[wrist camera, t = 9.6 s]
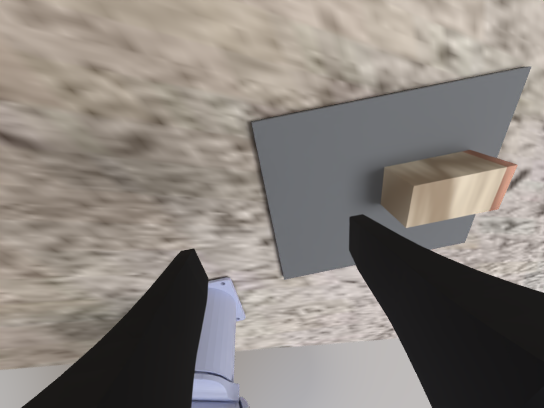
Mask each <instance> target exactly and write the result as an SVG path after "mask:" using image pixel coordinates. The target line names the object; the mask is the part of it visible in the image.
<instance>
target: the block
mask: <svg viewBox="0 0 544 408" xmlns="http://www.w3.org/2000/svg"><path fill="white" fill-rule="evenodd" d="M516 168H517V165H516V164H513V163H510V162H507V161H504V160H501V159H497V158H494V157H491V156H488V155H485V154H482V153H479V152H475V151H472V150H467V151H462V152H457V153H452V154H447V155H442V156H437V157H432V158H427V159H422V160H418V161H413V162H408V163H403V164H398V165H393V166H388V167H384V176H383V186H382V196H381V205H382V206H383V207H384V208H385V209H386V210H387V211H388V212H389V213H390V214H392V215H393V216H394V217H395V218H396V219H397V220H398V221H399V222H400V223H401V224H402V225H403V226H404V227H405V228H409V227H414V226H418V225H423V224H428V223H433V222H438V221H443V220H448V219H453V218H458V217H462V216H467V215H472V214H477V213H482V212H487V211H492V210H497V209H499V206H500V204H501V202H502V200H503V197H504V195H505V193H506V190H507V188H508V186H509V184H510V181H511V179H512V177H513V174H514V172H515V170H516Z"/></svg>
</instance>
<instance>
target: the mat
mask: <svg viewBox="0 0 544 408" xmlns="http://www.w3.org/2000/svg"><path fill="white" fill-rule="evenodd" d="M530 69H531V67H521V68H516V69H511V70H506V71H501V72H496V73H491V74H486V75H481V76H476V77H471V78H466V79H461V80H456V81H451V82H446V83H441V84H436V85H431V86H426V87H421V88H416V89H411V90H406V91H401V92H396V93H391V94H386V95H381V96H376V97H371V98H366V99H361V100H356V101H351V102H346V103H341V104H336V105H331V106H326V107H321V108H316V109H311V110H306V111H301V112H296V113H291V114H286V115H281V116H276V117H271V118H266V119H261V120H256V121H251V123H252V128H253V132H254V137H255V142H256V147H257V151H258V156H259V161H260V166H261V171H262V175H263V180H264V185H265V190H266V195H267V199H268V204H269V209H270V214H271V219H272V223H273V228H274V233H275V238H276V242H277V247H278V252H279V257H280V262H281V266H282V271H283V276H284V280H285V279H289V278H294V277H299V276H304V275H309V274H314V273H319V272H324V271H328V270H333V269H338V268H343V267H348V266H353V265H356V264H355V262H354V260H353V258H352V256H351V254H350V251H349V217H351V216H356V215H361V214H363V215H365V216H367V217H369V218H371V219H373V220H374V221H376V222H378V223H380V224H381V225H383V226H385V227H387V228H388V229H390V230H392V231H394V232H396V233H397V234H399V235H401V236H403V237H405V238H407V239H409V240H411V241H413V242H415V243H416V244H418V245H420V246H423V247H425V248H427V249H429V250H431V249H435V248H440V247H445V246H450V245H455V244H460V243H465V241H466V238H467V235H468V233H469V230H470V227H471V225H472V222H473V220H474V217H475V214H472V215H467V216H462V217H458V218H453V219H448V220H443V221H438V222H433V223H428V224H423V225H418V226H414V227H409V228H405V227H404V226H403V225H402V224H401V223H400V222H399V221H398V220H397V219H396V218H395V217H394V216H393V215H392V214H390V213H389V212H388V211H387V210H386V209H385V208H384V207H383V206H382V205H381V196H382V186H383V176H384V167H388V166H393V165H398V164H403V163H408V162H413V161H418V160H422V159H427V158H432V157H437V156H442V155H447V154H452V153H457V152H462V151H467V150H472V151H475V152H479V153H482V154H485V155H488V156H491V157H494V158H497V156H498V154H499V151H500V148H501V146H502V143H503V140H504V138H505V135H506V132H507V130H508V127H509V124H510V122H511V119H512V117H513V114H514V111H515V109H516V106H517V103H518V101H519V98H520V95H521V93H522V90H523V87H524V85H525V82H526V80H527V77H528V74H529V72H530Z"/></svg>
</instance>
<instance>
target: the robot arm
mask: <svg viewBox="0 0 544 408" xmlns="http://www.w3.org/2000/svg"><path fill="white" fill-rule="evenodd" d="M349 251H350V254H351V256H352V258H353V260H354V262H355V264H356V267H357V269H358V270H359V272H360V274H361V275H362V277H363V279H364V280H365V282H366V283H367V285H368V287H369V288H370V290H371V291H372V293H373V295H374V296H375V298H376V299H377V301H378V302H379V304H380V306H381V307H382V309H383V310H384V312H385V314H386V315H387V317H388V319H389V320H390V322H391V324H392V326H393V328H394V330H395V332H396V333H397V335H398V337H399V339H400V341H401V343H402V345H403V347H404V349H405V351H406V353H407V355H408V357H409V359H410V362H411V363H412V365H413V368H414V370H415V372H416V374H417V376H418V378H419V380H420V382H421V384H422V387H423V389H424V391H425V393H426V395H427V397H428V400H429V402H430V404H431V406H432V408H544V293H543V292H539V291H536V290H533V289H530V288H527V287H524V286H521V285H517V284H514V283H511V282H509V281H506V280H503V279H500V278H497V277H494V276H492V275H489V274H486V273H483V272H481V271H478V270H475V269H473V268H470V267H468V266H465V265H463V264H460V263H458V262H456V261H453V260H451V259H448V258H446V257H444V256H442V255H439V254H437V253H435V252H433V251H431V250H429V249H427V248H425V247H423V246H420V245H418V244H416V243H415V242H413V241H411V240H409V239H407V238H405V237H403V236H401V235H399V234H397V233H396V232H394V231H392V230H390V229H388V228H387V227H385V226H383V225H381V224H380V223H378V222H376V221H374V220H373V219H371V218H369V217H367V216H365V215H363V214H361V215H356V216H351V217H349ZM222 282H224V283H222ZM244 319H245V313H244V310H243V308H242V305H241V303H240V300H239V298H238V295H237V292H236V290H235V287H234V285H233V282H232V280H231V279H230V278H228V277H227V278H222V279H217V280H212V281H208V277H207V275H206V273H205V271H204V268H203V266H202V264H201V262H200V260H199V258H198V256H197V254H196V252H195V249H189V250H184V251H181V252H180V253H179V254H178V255H177V256H176V257H175V258H174V260H173V261H172V262H171V263H170V264H169V266H168V267H167V268H166V269H165V271H164V272H163V273H162V274H161V275H160V277H159V278H158V279H157V280H156V281H155V283H154V284H153V285H152V286H151V287H150V288H149V290H148V291H147V292H146V293H145V294H144V295H143V296H142V297H141V299H140V300H139V301H138V302H137V303H136V304H135V305H134V306H133V307H132V309H131V310H130V311H129V312H128V313H127V314H126V315H125V316H124V317H123V318H122V319H121V320H120V321H119V322H118V323H117V324H116V325H115V326H114V327H113V328H112V329H111V330H110V331H109V332H108V333H107V334H106V335H105V336H104V337H103V338H102V339H101V340H100V341H99V342H98V343H97V344H96V345H95V346H94V347H92V348H91V349H90V350H89V351H88V352H87V353H86V354H85V355H83V356H82V357H81V358H80V359H79V360H78V361H77V362H76V363H74V364H73V365H72V366H71V367H70V368H69V369H68V370H67V371H65V372H64V373H63V374H62V375H61V376H60V377H58V378H57V379H56V380H55V381H54V382H53V383H51V384H50V385H49V386H48V387H46V388H45V389H44V390H43V391H42V392H40V393H39V394H38V395H37V396H36V397H34V398H33V399H32V400H30V401H29V402H28V403H27V404H25V405H24V406H23V407H22V408H250V407H249V406H248V403H247V401H246V399H245V398H243V397H239V384H238V383H234V357H235V355H234V354H235V331H236V321H240V320H244Z"/></svg>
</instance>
